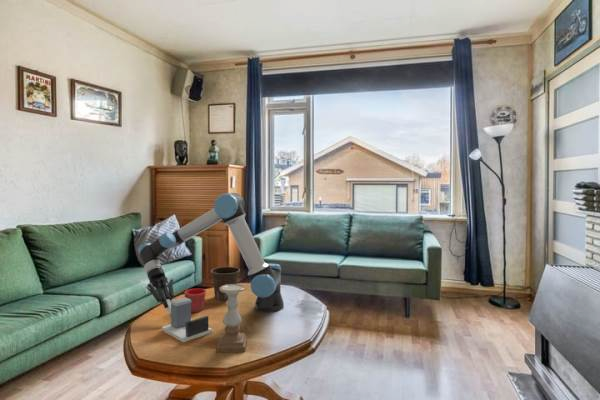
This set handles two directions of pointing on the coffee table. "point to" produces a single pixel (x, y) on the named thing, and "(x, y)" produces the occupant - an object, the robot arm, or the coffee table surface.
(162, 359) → the coffee table surface
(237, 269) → the plant pot
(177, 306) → the grey rectangular block
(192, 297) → the flower pot
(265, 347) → the coffee table surface
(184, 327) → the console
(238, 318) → the candle holder
